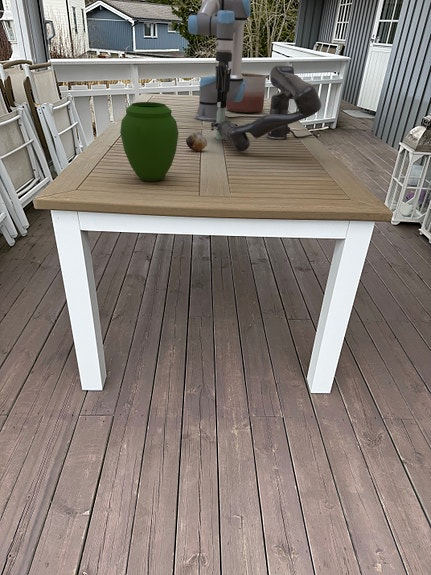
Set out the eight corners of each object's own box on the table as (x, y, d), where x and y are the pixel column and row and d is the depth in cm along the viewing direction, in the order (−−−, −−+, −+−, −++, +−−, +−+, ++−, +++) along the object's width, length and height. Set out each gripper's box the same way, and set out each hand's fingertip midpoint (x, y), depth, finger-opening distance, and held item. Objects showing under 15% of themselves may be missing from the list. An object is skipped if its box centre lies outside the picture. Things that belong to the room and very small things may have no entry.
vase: (131, 189, 135) (125, 110, 122) (118, 172, 150) (112, 100, 137) (186, 184, 142) (187, 109, 129) (169, 168, 157) (167, 99, 144)
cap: (216, 107, 197) (216, 102, 196) (217, 105, 200) (218, 101, 199) (225, 107, 196) (225, 103, 195) (226, 106, 200) (226, 102, 199)
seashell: (206, 149, 186) (206, 130, 181) (207, 152, 181) (208, 133, 177) (185, 148, 184) (185, 130, 180) (186, 152, 180) (186, 133, 175)
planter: (267, 114, 272) (271, 77, 261) (229, 113, 268) (232, 76, 257) (257, 108, 294) (260, 73, 282) (223, 107, 289) (224, 72, 278)
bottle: (225, 139, 206) (227, 104, 197) (219, 139, 204) (220, 104, 195) (220, 137, 209) (222, 103, 200) (214, 138, 206) (215, 103, 198)
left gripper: (209, 50, 191) (208, 104, 204) (223, 52, 178) (220, 110, 190) (224, 50, 194) (221, 104, 206) (239, 52, 180) (235, 109, 193)
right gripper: (213, 139, 191) (205, 131, 205) (242, 139, 195) (232, 131, 209) (214, 122, 187) (205, 115, 201) (243, 122, 191) (233, 115, 205)
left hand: (221, 106), depth 198 cm, fingers closed on cap, 4 cm apart
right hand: (219, 123), depth 205 cm, fingers closed on bottle, 4 cm apart
